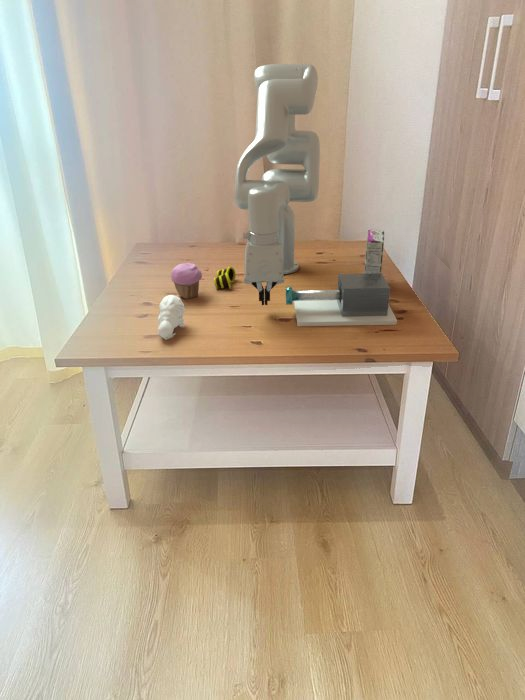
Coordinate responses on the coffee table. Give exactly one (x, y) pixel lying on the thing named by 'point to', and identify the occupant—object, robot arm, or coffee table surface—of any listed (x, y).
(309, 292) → the steel shaft
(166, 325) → the white figurine
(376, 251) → the candy bar box
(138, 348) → the coffee table surface
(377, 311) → the shaft housing
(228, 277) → the opera glasses
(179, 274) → the cupcake
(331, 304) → the mounting board
